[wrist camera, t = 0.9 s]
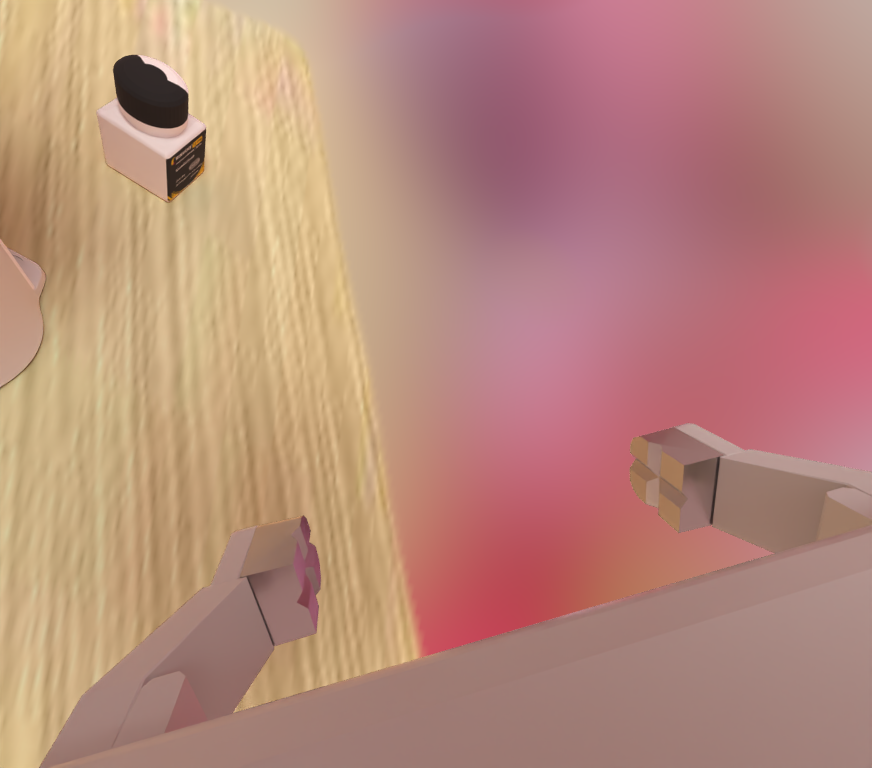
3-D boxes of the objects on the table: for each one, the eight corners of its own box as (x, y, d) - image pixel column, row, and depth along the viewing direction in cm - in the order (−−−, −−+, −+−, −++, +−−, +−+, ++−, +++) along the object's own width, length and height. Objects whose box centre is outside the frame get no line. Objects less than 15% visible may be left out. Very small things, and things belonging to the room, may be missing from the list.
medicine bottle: (169, 204, 48) (165, 117, 39) (104, 164, 46) (84, 62, 37) (204, 171, 52) (210, 84, 42) (146, 133, 50) (138, 32, 40)
